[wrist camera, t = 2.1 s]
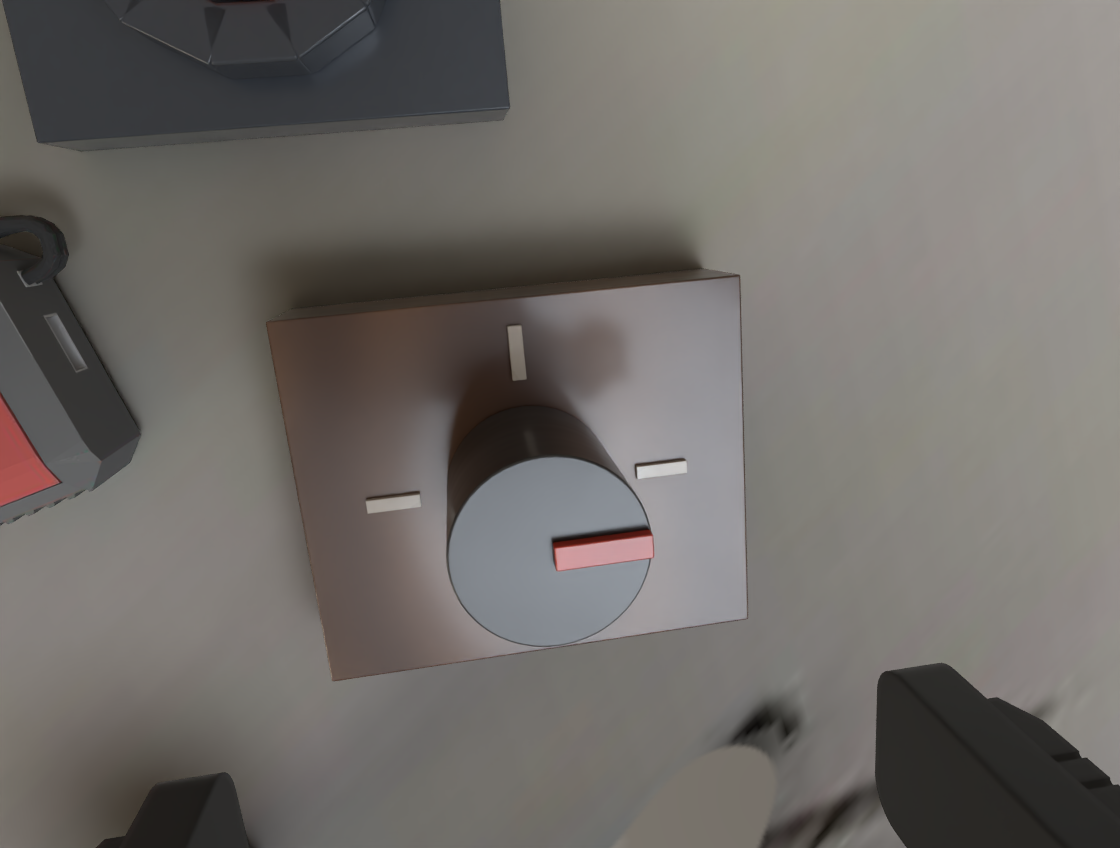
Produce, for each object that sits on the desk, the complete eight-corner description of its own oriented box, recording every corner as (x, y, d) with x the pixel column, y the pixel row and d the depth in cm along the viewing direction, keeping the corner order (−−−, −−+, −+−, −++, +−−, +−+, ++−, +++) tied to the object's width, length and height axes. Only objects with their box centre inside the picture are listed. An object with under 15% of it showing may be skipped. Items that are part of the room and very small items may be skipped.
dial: (457, 571, 21) (459, 669, 16) (436, 415, 20) (433, 473, 15) (616, 549, 21) (661, 638, 17) (605, 396, 20) (650, 446, 16)
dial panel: (345, 627, 24) (330, 685, 21) (289, 308, 22) (263, 322, 19) (715, 574, 25) (750, 622, 22) (704, 268, 23) (743, 274, 20)
